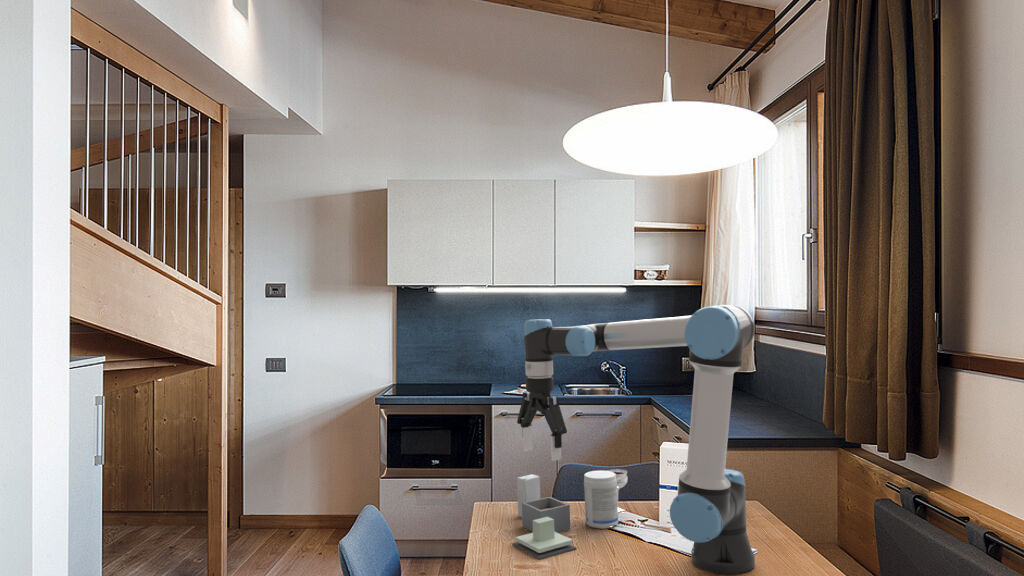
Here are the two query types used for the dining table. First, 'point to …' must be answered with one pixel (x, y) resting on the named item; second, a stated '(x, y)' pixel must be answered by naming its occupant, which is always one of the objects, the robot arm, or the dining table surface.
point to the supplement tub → (601, 499)
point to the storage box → (546, 513)
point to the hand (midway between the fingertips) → (541, 455)
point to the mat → (544, 554)
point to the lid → (544, 536)
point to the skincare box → (527, 490)
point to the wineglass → (620, 481)
